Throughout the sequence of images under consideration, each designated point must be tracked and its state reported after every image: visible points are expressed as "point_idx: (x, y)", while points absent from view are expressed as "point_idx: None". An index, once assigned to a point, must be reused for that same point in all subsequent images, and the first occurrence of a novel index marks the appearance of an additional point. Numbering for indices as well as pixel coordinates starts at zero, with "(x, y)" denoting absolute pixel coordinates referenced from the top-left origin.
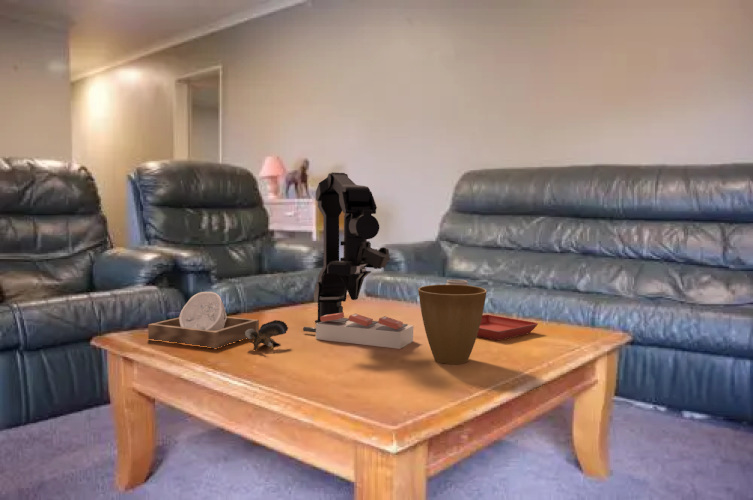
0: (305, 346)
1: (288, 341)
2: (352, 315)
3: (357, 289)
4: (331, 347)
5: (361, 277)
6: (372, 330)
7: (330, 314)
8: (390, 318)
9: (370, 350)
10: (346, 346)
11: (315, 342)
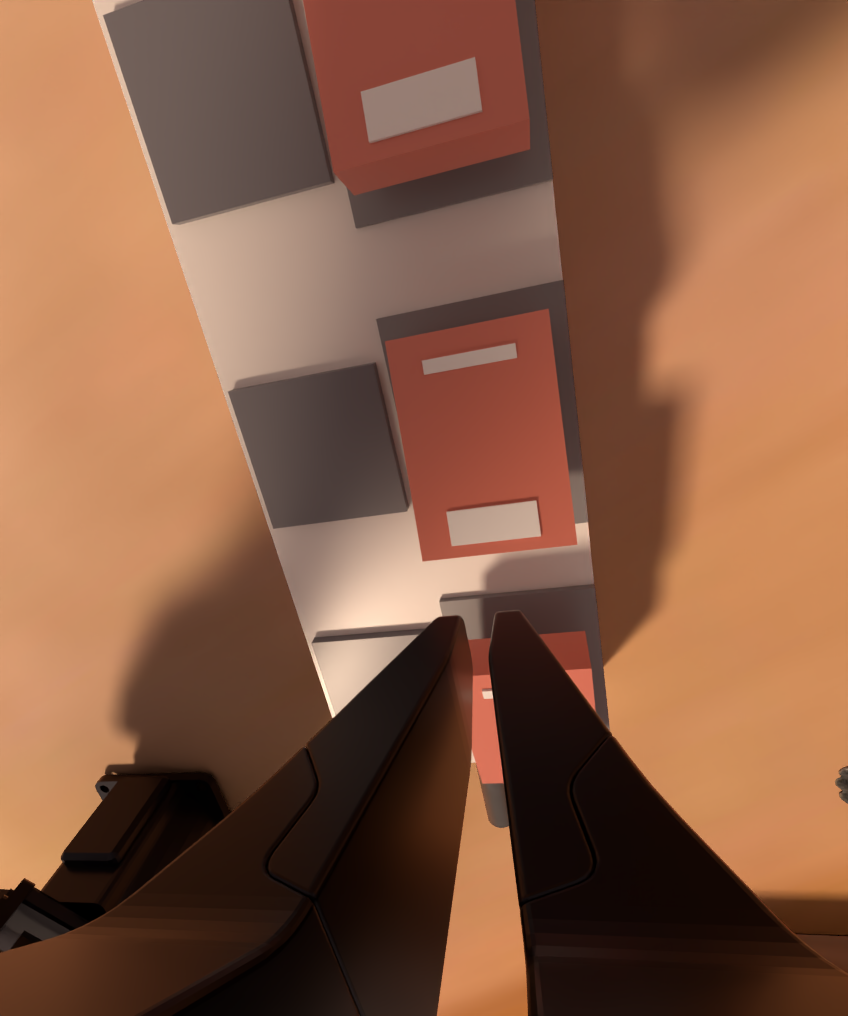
0: (832, 621)
1: (744, 762)
2: (538, 528)
3: (499, 705)
4: (775, 464)
5: (274, 984)
6: (555, 223)
7: (496, 754)
8: (334, 57)
9: (721, 123)
10: (685, 392)
11: (683, 630)
